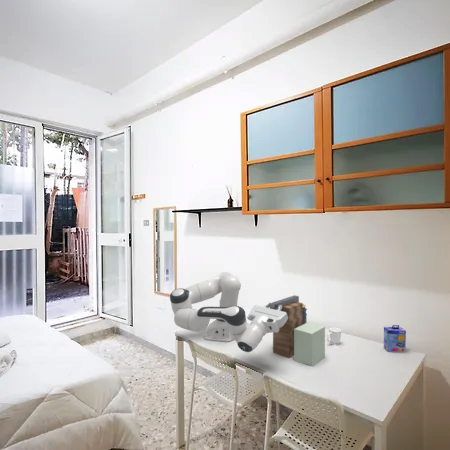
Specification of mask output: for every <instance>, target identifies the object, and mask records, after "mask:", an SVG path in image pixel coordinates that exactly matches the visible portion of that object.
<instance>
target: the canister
mask: <svg viewBox="0 0 450 450" xmlns="http://www.w3.org/2000/svg"><path fill="white" fill-rule="evenodd" d="M299 303H301V302H299ZM307 310H308V309H307V308H306V305H305V304H304V303H303V324H306V323H308V322H307V319H308V318H307V315H308V314H307Z"/></svg>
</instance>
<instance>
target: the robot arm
mask: <svg viewBox="0 0 450 450" xmlns="http://www.w3.org/2000/svg"><path fill="white" fill-rule="evenodd" d="M241 287H242V283H241V281H240V279H239V278H238V277H237V276H236V275H233V274H231V273H230V272H221V273H219V274H216V275H215V276H213V277H211V278H210V279H206V280H204V281H201V282H197V283H195V284H192V285H190V286H187V287H186V288H183V287H182V288H180V287H179V288H175V289H173V291H171V293H170V294H169V301H170V305H171V310H172V312H173V314H174V317H173V321H174V324H175V326H177V327H180V328H181V329H183V330H188V331H189V332H190V331H191V332H194V333H195V332H196V333H201V332H203V331H205V330H206V329H207V330H206V331H205V332H204V334H203V339H204V340H206V341H217V342H225V343H226V342H227V343H229V342H231V341H234V342H235V343H236V344H237V347H238V348H239V349H240V351H243V352H245V353H250V352H253V351H254V350H255V349H256V348H257V347H258V346H259V344H260V343H261V341H262V340H263V337H265V335H267V334H269V333H272V334H273V332H279V328H281V327H282V326H283V325H284V324H285V323H286V321H287V320H288V316H287V313H286V312H283V311H281V309H282V305H279V306H278V309H277V310H274V309H270V303H271V302H268V303H266V304H265V305H263V306H261V305H257V304H256V305H253V306H252V308H251V310H250V312H249V313H248V315H247V316H246V311H245V309H244V308H243V307H241V306H239V305H238V298H239V294H240V293H239V292H240V290H241ZM219 294H220V295H221V296H220V299H219V306H203V307H201V308H199V309H196V308H195V309H194V308H193V306H192V305H194V304H197V303H200V302H201V303H202V302H204V301H208V300H210V299H212V298H213V299H214V298H215V296H217V295H219ZM210 320H214V321H212V322H211V321H210ZM247 320H248V321H251V322H250V323H248V321H247ZM209 323H210V324H209Z"/></svg>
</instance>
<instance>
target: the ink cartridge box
mask: <svg viewBox="0 0 450 450" xmlns="http://www.w3.org/2000/svg"><path fill="white" fill-rule="evenodd" d="M406 339H407V330H406V329H404V328H403V327H400V324H397V325H396V324H395V325H394V324H393V325H392V326H384V327H383V349H385V351H386V352H387V351H388V352H387V353H389V352H390V353H406V344H407V343H406V342H407V340H406Z"/></svg>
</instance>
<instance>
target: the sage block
mask: <svg viewBox="0 0 450 450" xmlns="http://www.w3.org/2000/svg"><path fill="white" fill-rule="evenodd" d="M293 357H294V358H293V360H294V361H296V362H299V363H302V364H304V365H308V366H309V367H313V366H315V365H316V364H317V363H319V362H320V361H322V360H323V359H324V358H326V327H325V326H323V325H318V324H314V323H311V322H307V323H306V324H303V325H301V326H299V327H297V328H295V329H294V355H293Z"/></svg>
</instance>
